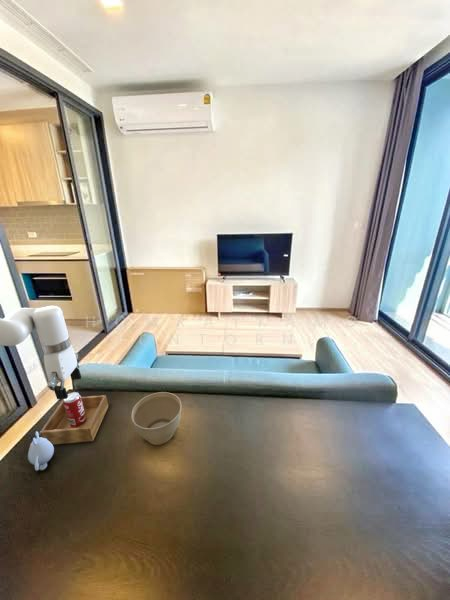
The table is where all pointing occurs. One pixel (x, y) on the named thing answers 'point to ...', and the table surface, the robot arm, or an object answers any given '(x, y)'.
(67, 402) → the soda can
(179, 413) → the planter bowl
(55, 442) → the wooden tray
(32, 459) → the toy figure
